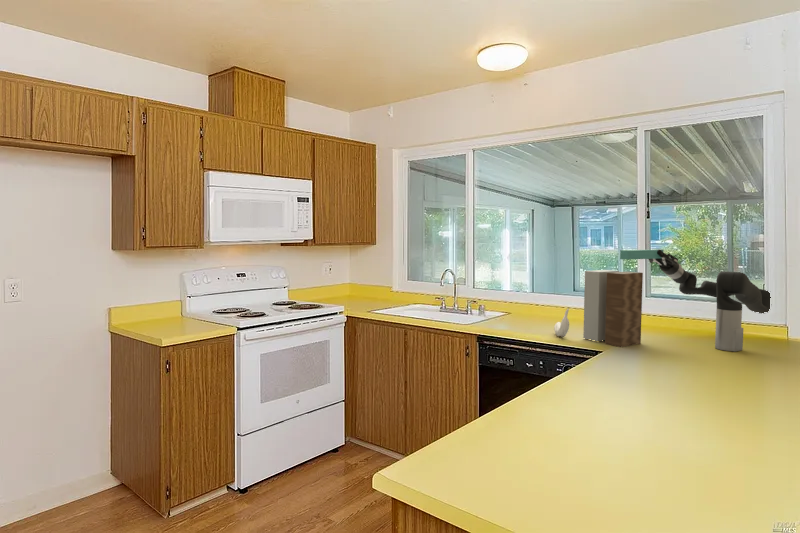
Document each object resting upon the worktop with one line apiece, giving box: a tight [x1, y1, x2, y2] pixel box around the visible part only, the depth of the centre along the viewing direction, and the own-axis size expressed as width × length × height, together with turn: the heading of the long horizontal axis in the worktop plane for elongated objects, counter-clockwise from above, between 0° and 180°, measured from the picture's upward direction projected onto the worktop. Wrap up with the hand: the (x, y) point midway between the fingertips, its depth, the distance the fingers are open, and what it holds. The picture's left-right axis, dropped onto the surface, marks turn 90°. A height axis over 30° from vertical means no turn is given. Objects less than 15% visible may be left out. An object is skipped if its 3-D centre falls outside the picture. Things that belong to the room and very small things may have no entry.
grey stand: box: [582, 269, 620, 342], centre depth 245 cm, size 14×8×32 cm, turn 121°
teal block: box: [619, 249, 664, 261], centre depth 240 cm, size 26×4×4 cm, turn 121°
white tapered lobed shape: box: [553, 308, 570, 338], centre depth 252 cm, size 5×19×15 cm, turn 179°
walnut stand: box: [604, 271, 644, 348], centre depth 235 cm, size 14×8×32 cm, turn 121°
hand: (653, 251), depth 244 cm, fingers closed on teal block, 4 cm apart
